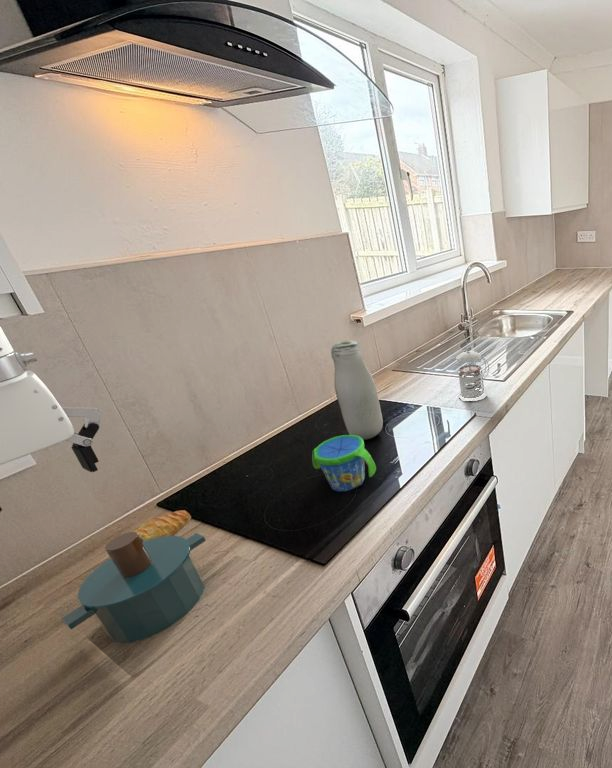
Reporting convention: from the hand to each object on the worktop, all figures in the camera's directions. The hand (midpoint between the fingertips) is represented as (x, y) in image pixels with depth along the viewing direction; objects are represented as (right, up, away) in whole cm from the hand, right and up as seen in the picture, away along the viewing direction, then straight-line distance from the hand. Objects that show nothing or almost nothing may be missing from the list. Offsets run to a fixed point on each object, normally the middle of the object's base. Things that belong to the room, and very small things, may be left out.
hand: (46, 488), depth 57 cm
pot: (+6, -23, +11) cm, 26 cm away
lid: (+6, -15, +8) cm, 18 cm away
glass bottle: (+24, -1, +59) cm, 64 cm away
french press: (+52, +11, +80) cm, 96 cm away
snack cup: (+26, -9, +39) cm, 48 cm away
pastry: (-7, -17, +27) cm, 33 cm away
